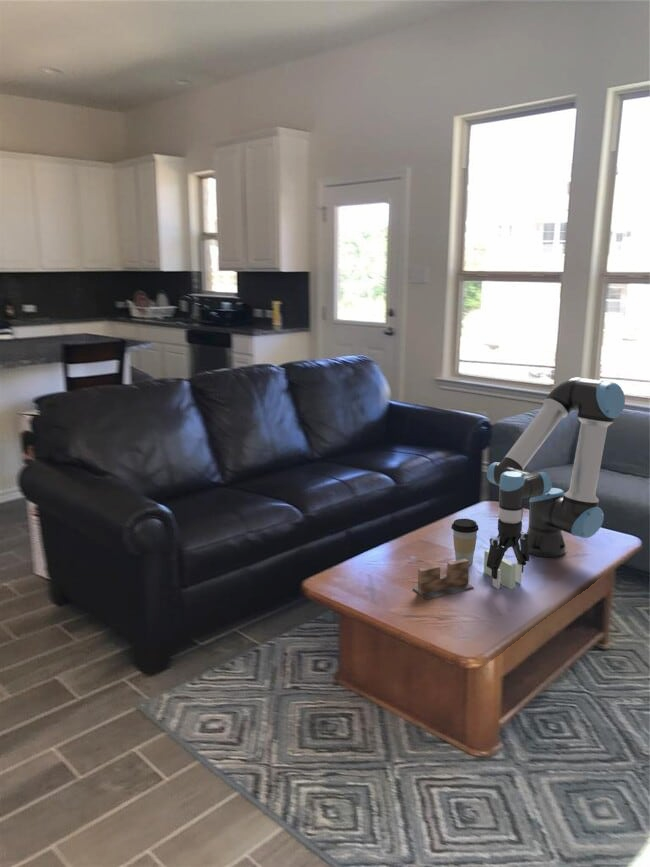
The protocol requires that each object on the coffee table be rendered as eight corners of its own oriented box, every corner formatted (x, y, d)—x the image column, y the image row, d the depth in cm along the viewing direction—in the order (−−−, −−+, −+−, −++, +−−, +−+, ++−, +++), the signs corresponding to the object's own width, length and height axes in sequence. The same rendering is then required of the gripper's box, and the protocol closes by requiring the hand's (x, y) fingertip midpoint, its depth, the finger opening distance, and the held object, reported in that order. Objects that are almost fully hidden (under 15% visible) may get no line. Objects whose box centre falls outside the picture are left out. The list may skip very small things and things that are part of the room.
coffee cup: (477, 568, 241) (478, 528, 238) (450, 566, 243) (451, 526, 240) (477, 557, 250) (478, 518, 247) (450, 555, 252) (451, 517, 249)
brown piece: (459, 578, 234) (460, 555, 232) (473, 588, 227) (474, 564, 225) (413, 589, 227) (413, 565, 225) (426, 599, 220) (426, 574, 218)
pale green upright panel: (483, 572, 239) (484, 550, 237) (488, 571, 239) (489, 549, 237) (509, 588, 226) (510, 565, 224) (514, 587, 227) (515, 564, 225)
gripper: (528, 510, 231) (524, 574, 236) (476, 520, 223) (473, 585, 228) (543, 518, 224) (539, 582, 229) (490, 528, 216) (487, 595, 221)
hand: (507, 584), depth 229 cm, fingers open, 8 cm apart
